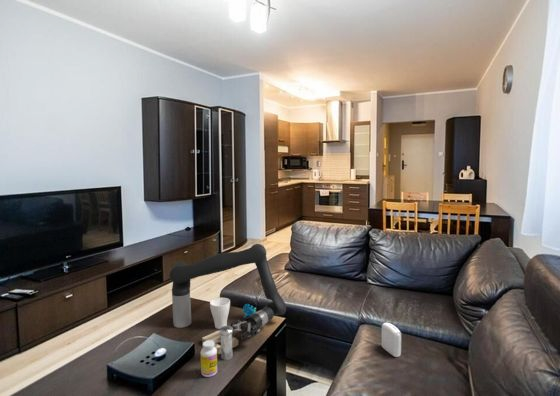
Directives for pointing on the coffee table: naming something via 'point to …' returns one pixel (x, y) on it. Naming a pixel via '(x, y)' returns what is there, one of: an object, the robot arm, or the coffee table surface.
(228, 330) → the salt shaker
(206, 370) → the supplement bottle
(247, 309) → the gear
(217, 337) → the jig
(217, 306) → the cup
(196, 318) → the coffee table surface
